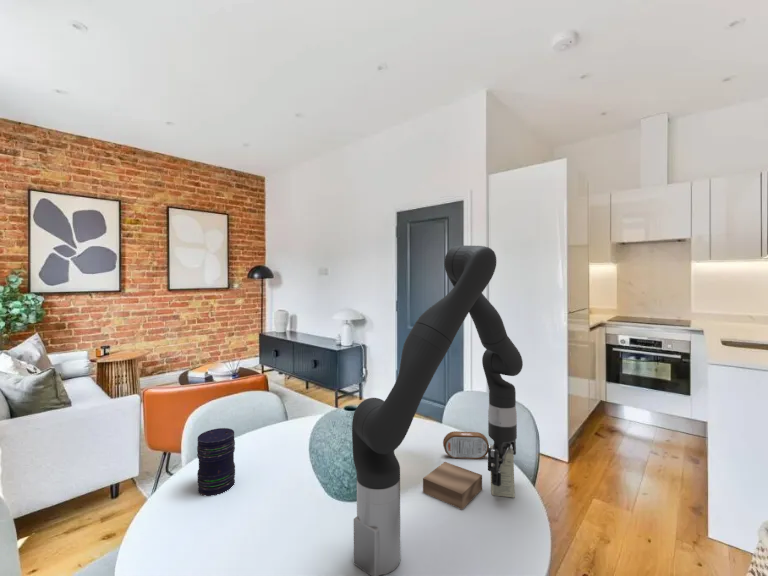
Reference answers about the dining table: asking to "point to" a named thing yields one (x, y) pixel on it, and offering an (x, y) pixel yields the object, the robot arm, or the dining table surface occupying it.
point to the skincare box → (505, 477)
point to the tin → (466, 445)
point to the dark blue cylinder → (216, 461)
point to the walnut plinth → (452, 484)
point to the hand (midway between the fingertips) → (502, 478)
